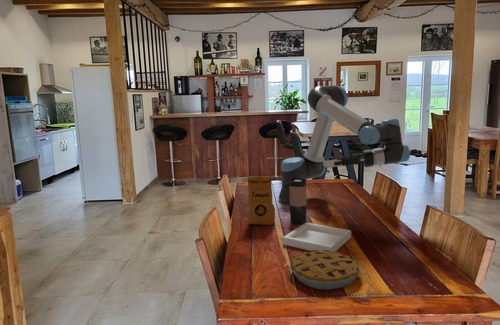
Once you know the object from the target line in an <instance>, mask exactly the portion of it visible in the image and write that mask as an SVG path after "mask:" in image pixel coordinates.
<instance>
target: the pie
mask: <svg viewBox="0 0 500 325" xmlns="http://www.w3.org/2000/svg"><path fill="white" fill-rule="evenodd" d="M289 268H290V271H292V273H293V274H294V276H295V277H296V279H297V280H298V281H299V282H300V283H301V284H303V285H306V286H308V287H310V288H313V289H315V290H316V289H317V290H334V289H340V288H344V287H346V286H349V285H350V284H351V285H352V283H353V282H354V281H355V280H356V278H357V277H358V275H359V273H361V269H360V266H359V264H358V262H357V260H355V259H352V258H351V256H350V255H345V254H342V253H341V252H339V251H335V252H330V251H329V250H324V251H318V250H313V251H310V252H307V251H304V252H302V253H301V254H295V256H294V257H293V258H292V259H290V261H289Z"/></svg>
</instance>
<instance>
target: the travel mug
mask: <svg viewBox="0 0 500 325" xmlns="http://www.w3.org/2000/svg"><path fill="white" fill-rule="evenodd" d="M289 182H290V204H289V220H290V224H291V225H295V226H301V225H303V224H304V223H306V222H307V205H308V202H307V201H308V200H307V180H306V179H303V178H293V179H290V180H289Z"/></svg>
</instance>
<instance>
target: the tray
mask: <svg viewBox="0 0 500 325" xmlns="http://www.w3.org/2000/svg"><path fill="white" fill-rule="evenodd" d="M351 238H352V231H351V230H350V229H345V228H339V227H333V226H329V225H323V224H318V223H312V222H307V221H306V223H304V224H303V225H299V226H298V227H297V228H295V229H293V230H291V231H290V232H289V233H287V234H285V235H284V236H283V237H282V245H284V246H288V247H293V248H297V249H302V250H305V251H310V252H312V251H313V250H318V251H324V250H329V251H330V252H338V249H339V248H342V246H343V245H344V244H346V243H347V242H348V241H349V240H350V239H351Z"/></svg>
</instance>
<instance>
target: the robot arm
mask: <svg viewBox="0 0 500 325" xmlns="http://www.w3.org/2000/svg"><path fill="white" fill-rule="evenodd" d="M348 100H349V98H348V93H347V91H346V89H345V88H344V87H342V86H341V85H340V86H339V85H317V86H315V87H313V88H311V90H309V93H308V95H307V103H308V105H309V107H310V108H311V109H312V110H313V111H315V112H316V113H318V114H317V118H316V119H315V120H316V121H315V124H314V127H313V131H312V135H311V137H310V142H309V145H308V148H307V150H306V151H305V152H304V153H303V155H302V157H298V156H295V157H288V158H285V159H283V160H282V161H281V164H280V165H281V167H280V169H281V170H280V172H281V189H280V192H279V196H278V203H282V204H287V205H290V182H289V180H290V179H293V178H303V179H306V181H307V180H310V179H311V180H312V179H317V178H319V177H321V176H323V175H324V173H325V171H326V168H327V169H328V168H337V167H342V166H349V165H350V166H351V165H352V166H353V165H361V164H363V166H364V167H365V168H370V167H374V166H379V167H382V165H390V164H399V163H404V162H407V161H409V160H410V158H411V151H410V147H409V146H408V145H407V144H403V139H402V130H401V125H400V121H399V119H398V118H391V119H385V120H382V121H381V122H380V123H381V124H377V125H376V124H374V123H372V122H371V121H369V120H367V119H366V118H364V117H362V116H360V115H358V114H357V113H355V112H354V111H352V110H350V109H348V108H347V107H346V106H347V104H348ZM334 121H335V122H336V123H338V124H340V125H341V126H342V127H345V128H346V129H347V130H349V131H350V132H352V133H353V134H354V135H356V136H358V139H359V141H360V142H361V143H362V144H364V145H374V144H380V143H383V147H379V148H378V147H377V148H372V149H365V150H362V152H361V156H360V155H353V156H349V157H345V158H344V157H342V158H335V159H330V160H325V157H324V156H323V154H324V152H325V149H326V145H327V142H328V139H329V136H330V134H331V129H332V126H333V123H334Z"/></svg>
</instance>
